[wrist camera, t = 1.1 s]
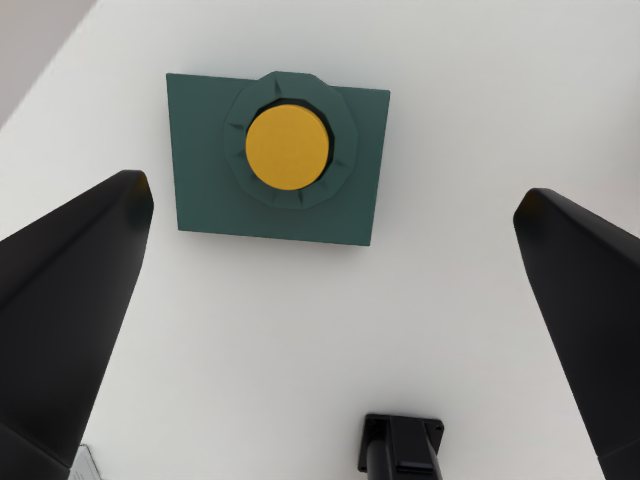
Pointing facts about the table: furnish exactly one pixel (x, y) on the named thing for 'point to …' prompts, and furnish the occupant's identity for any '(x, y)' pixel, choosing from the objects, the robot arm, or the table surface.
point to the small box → (83, 466)
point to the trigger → (287, 147)
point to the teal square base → (240, 180)
